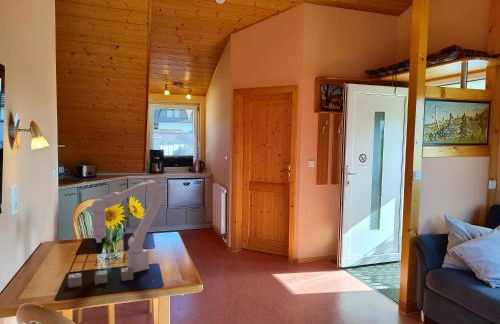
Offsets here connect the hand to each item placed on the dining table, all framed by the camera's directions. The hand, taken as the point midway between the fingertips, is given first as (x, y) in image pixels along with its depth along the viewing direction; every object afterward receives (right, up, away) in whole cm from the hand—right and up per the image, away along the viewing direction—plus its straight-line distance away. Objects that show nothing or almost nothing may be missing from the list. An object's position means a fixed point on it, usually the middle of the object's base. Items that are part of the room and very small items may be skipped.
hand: (99, 253), depth 170 cm
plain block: (+4, -10, -9) cm, 14 cm away
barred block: (+15, -10, -4) cm, 18 cm away
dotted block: (-5, -10, -13) cm, 17 cm away
